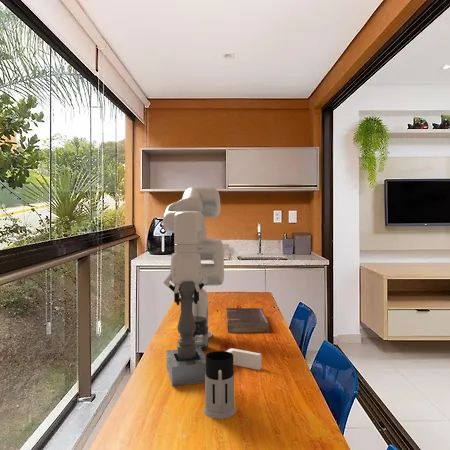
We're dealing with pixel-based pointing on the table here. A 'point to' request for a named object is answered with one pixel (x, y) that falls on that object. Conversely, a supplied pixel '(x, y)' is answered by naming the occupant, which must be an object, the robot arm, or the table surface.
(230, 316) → the hardback book
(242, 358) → the angle bracket
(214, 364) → the glass holder
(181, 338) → the candle holder
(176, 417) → the table surface
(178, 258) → the robot arm
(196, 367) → the gray hollow block
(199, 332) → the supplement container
